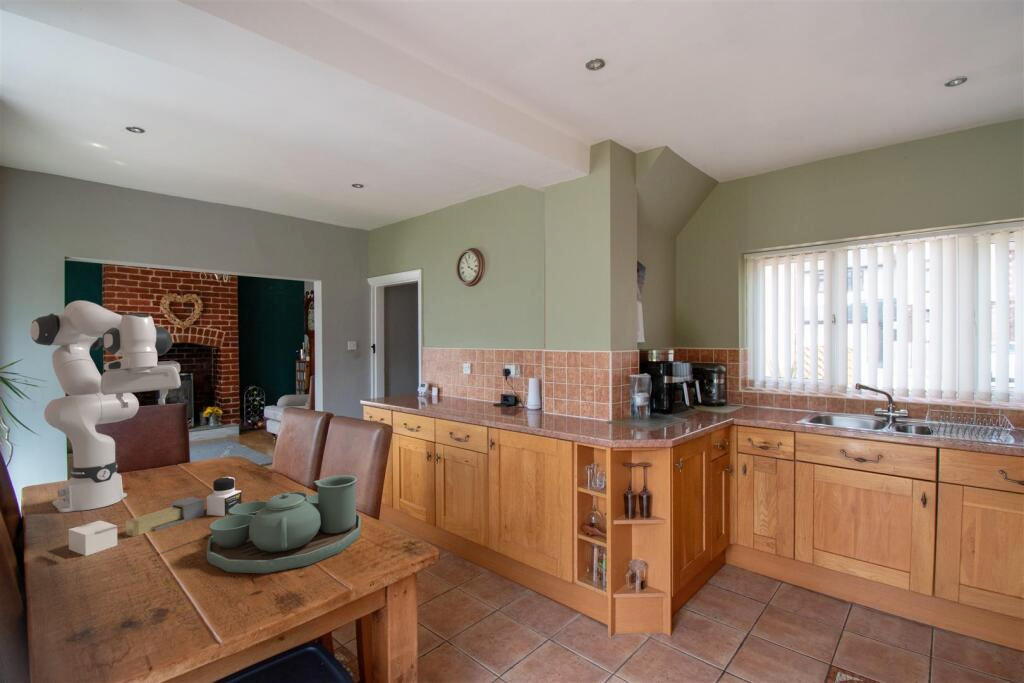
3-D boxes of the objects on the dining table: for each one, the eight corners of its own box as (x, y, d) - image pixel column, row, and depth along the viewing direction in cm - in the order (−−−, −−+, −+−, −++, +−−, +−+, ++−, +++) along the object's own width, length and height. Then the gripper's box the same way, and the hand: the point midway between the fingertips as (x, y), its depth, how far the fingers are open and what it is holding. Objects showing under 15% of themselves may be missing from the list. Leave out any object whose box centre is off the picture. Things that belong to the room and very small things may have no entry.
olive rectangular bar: (125, 534, 137) (125, 520, 137) (184, 515, 152) (184, 502, 152) (133, 536, 136) (133, 522, 136) (191, 517, 150) (191, 504, 150)
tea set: (326, 506, 163) (326, 459, 163) (386, 541, 134) (385, 483, 134) (190, 542, 135) (189, 484, 135) (228, 595, 107) (227, 522, 106)
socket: (68, 553, 128) (68, 529, 128) (100, 543, 134) (100, 520, 134) (85, 559, 124) (85, 535, 124) (117, 549, 130) (117, 525, 130)
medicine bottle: (225, 519, 151) (224, 482, 151) (206, 518, 153) (205, 481, 153) (242, 511, 158) (241, 475, 158) (223, 510, 160) (223, 474, 160)
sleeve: (141, 530, 143) (141, 510, 143) (190, 515, 155) (190, 496, 155) (156, 535, 139) (156, 514, 139) (205, 518, 152) (205, 499, 152)
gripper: (181, 360, 159) (184, 401, 159) (103, 366, 150) (106, 409, 149) (178, 359, 154) (181, 401, 153) (97, 365, 144) (100, 410, 143)
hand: (143, 405), depth 151 cm, fingers open, 8 cm apart
